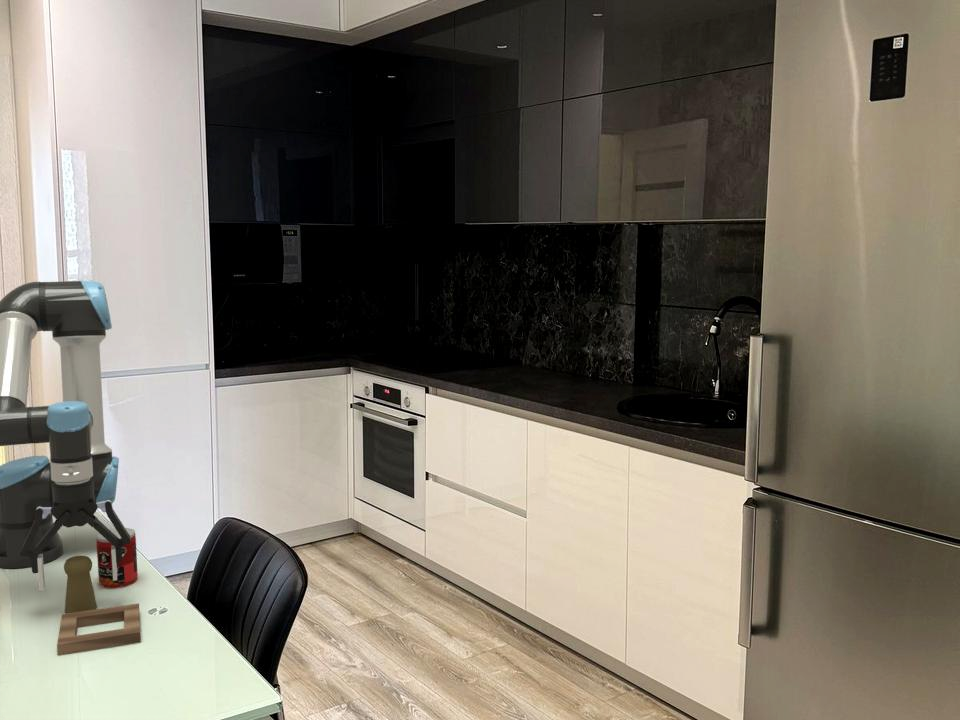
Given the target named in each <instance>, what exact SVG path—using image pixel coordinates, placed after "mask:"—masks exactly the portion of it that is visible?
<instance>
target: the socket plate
mask: <svg viewBox="0 0 960 720" xmlns="http://www.w3.org/2000/svg"><path fill="white" fill-rule="evenodd" d="M140 613H141V611H140V603H132V604H125V605H118V606H111V607H104V608H97V609H95V610H88V611H81V612H74V613H67V614H65V613H62V614H61V620H60V624H59V631H58V637H57V642H56V652H57V656H60V655H68V654H73V653H81V652H87V651H92V650H94V651H95V650H101V649H106V648H112V647H121V646H125V645H133V644H137V643H141V642H142V641H141V619H140V618H141V616H140V615H141V614H140ZM116 622H117V623H118V622H123V623H124V625H123V626H124V627H123V628H119V629H118V628H117V629H111V630H104V631H98V632H97V631H96V632H92V633H86V634H77V633H78V628H81V627H82V628H84V627H89V626H97V625H103V624H110V623H111V624H112V623H116Z"/></svg>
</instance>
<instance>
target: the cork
mask: <svg viewBox="0 0 960 720" xmlns="http://www.w3.org/2000/svg"><path fill="white" fill-rule="evenodd" d="M92 568H93V561H92V559H91V558H90V556H88V555H75V556H72V557H69V558H67V559H66V560H65V562H64V563H63V570H64V573H65V574H66V575H67V576H66V577H67V578H66V587H65V589H66V590H65V603H64V614H67V613H74V612H81V611H88V610H95V609H98V605H97V600H96V594H95V590H94V585H93V582H92V576H91V571H92Z"/></svg>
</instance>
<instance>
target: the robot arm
mask: <svg viewBox="0 0 960 720" xmlns="http://www.w3.org/2000/svg"><path fill="white" fill-rule="evenodd" d="M111 319H112V318H111V314H110V309H109V304H108V298H107V294H106V289H105V286H104V285H103V284H102V283H101V282H99V281H91V280H89V281H88V280H74V281H73V280H70V281H68V280H67V281H66V280H65V281H31V282H26V283H23V284H21V285H19V286H17V287H15V288H14V289H12V290H11V291H10V292H8V293H7V294H6V295H4V297H2V298H1V300H0V447H6V446H17V445H28V444H29V445H30V444H31V445H32V444H34V445H35V444H45V443H47V444H48V443H49V456H50V457H49V456H46V455H32V456H27V457H21V458H17V459H14V460H11V461H8V462H5V463H3V464H1V465H0V568H1V569H21V568H30V567H31V572H32V574H34V575H35V574H38V575H37V576H38V586H39V587H38V588H39V591H45V585H46V582H45V568H44V564H47V563H50V562H51V561H55V560H56V559H58V558H59V557H61V556H62V555H63V554H64V548H63V541H62V539H61V537H60V534H59V532H58V531H59V530H60V529H61V528H62V527H65V528H66V529H68V528H72V527H73V528H74V527H84V526H85V525H87V524H88V526H90V527H91V528H93V529H94V530H95V531H96V532H98V534H99V533H100V534H101V535H102V536H103V537H104V538H105V539H107V540H108V541H109V542H110V543H111V544H112V545H113V546H111V553H112V570H113V581H115V580H117V563H121V562H122V547H123V546H124V545H126V544H129V543H130V542H131V537H130V535H129V534H128V532H127V530H126V529H125V528H126V527H125V525H124V524H123V522H122V521H121V519H120V518H119V516H118V515H117V513H116V511H115V510H114V508H113V507H114V506H113V503H114V502H115V500H116V495H117V486H118V477H119V476H118V474H119V463H120V462H119V461H120V458H119V457H118V456H115V455H114V456H113V450H112V448H111V447H110V446H109V445H107V444H106V443H105V425H104V424H105V423H104V409H103V407H104V405H103V404H104V403H103V389H102V388H103V387H102V369H101V353H100V351H101V349H100V346H101V343H102V342H103V341H104V339H106V338H107V333H106V332H107V331H109V330H111V329H113V324H112V320H111ZM106 330H107V331H106ZM38 332H51V333H52V334H51V335H52V340H53V341H55V343H57V344H58V345H59V351H60V368H61V371H60V372H61V389H62V401H59V402H56V403H52V404H50V405H42V406H40V405H39V406H27V405H28V395H29V394H28V393H29V392H28V391H29V381H30V378H29V377H30V366H31V352H32V342H33V341H32V340H34V339H35V337H36V336H37V334H38ZM98 509H100V510H101V512H102V513H106V516H107V518H108V519H109V521H110V523H111V524H112V525H113V527H114V529H116V530H117V532H118V533H119V535H120V536H121V539H119V538H118V537H117V536H116V535H115V534H114V533H112V532H111V531H110V530H109V528H108V527H107V526H106V525H105V524H104V523H103V522H101V521H100V519H98V517H97V516H96V515H95V514H96V511H97V510H98ZM53 517H54V518H55V520H54V521H53Z"/></svg>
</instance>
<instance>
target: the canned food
mask: <svg viewBox="0 0 960 720" xmlns="http://www.w3.org/2000/svg"><path fill="white" fill-rule="evenodd" d="M108 529H109V528H108ZM125 529H126V530H127V532H128V534H129V535H130V537H131V542H130V543H129V544H126V545H124V546H123V547H122V562H121V563H117V580H115V581H113V570H112V553H111V546H113V545H112V544H111V543H110V542H109V541H108V540H107V539H105V538H104V537H103V536H102V535H101V534H100V533H99V532H98V533H97V534H96V535H95V536H96V537H95V541H96V555H97V556H96V557H97V571H98V573H97V574H98V583H99V585H100V586H101V587H102V588H107V589H118V587H119V588H123V586H124V587H127V586H129V584H130V585H132V584H133V583H135V582H136V581H137V579H138V576H139V575H138V559H137V558H138V555H137V539H136V537H137V535H136V531H135V529H133V528H130V527H129V528H128V527H125ZM109 530H110V531H111V532H112V533H114V534H115V535H116V536H117V537H118V538H119V539H121V536H120V535H119V533H118V532H117V530H116V529H115V528H110V529H109ZM126 585H127V586H126Z"/></svg>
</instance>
